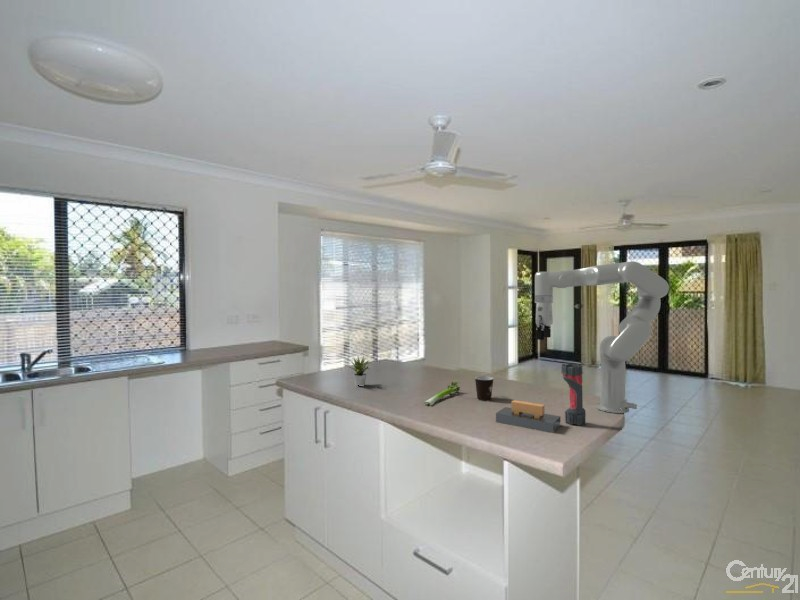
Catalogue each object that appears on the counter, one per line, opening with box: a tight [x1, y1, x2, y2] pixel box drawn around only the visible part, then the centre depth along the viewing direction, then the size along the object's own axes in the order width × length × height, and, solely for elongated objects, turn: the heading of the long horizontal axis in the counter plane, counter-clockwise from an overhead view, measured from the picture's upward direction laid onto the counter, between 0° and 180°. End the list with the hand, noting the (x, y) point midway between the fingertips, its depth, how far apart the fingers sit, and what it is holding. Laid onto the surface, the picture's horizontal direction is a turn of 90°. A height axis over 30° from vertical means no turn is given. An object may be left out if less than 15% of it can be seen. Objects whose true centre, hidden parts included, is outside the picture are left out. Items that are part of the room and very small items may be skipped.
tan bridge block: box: [510, 399, 545, 419], centre depth 162 cm, size 12×3×8 cm, turn 54°
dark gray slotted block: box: [495, 406, 561, 434], centre depth 162 cm, size 22×10×4 cm, turn 55°
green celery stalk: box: [423, 381, 461, 407], centre depth 200 cm, size 6×7×30 cm
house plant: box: [349, 355, 372, 386], centre depth 225 cm, size 14×14×16 cm
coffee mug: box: [474, 375, 494, 402], centre depth 199 cm, size 12×9×10 cm
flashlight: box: [561, 363, 587, 426], centre depth 162 cm, size 8×8×23 cm
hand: (543, 338), depth 185 cm, fingers open, 9 cm apart
